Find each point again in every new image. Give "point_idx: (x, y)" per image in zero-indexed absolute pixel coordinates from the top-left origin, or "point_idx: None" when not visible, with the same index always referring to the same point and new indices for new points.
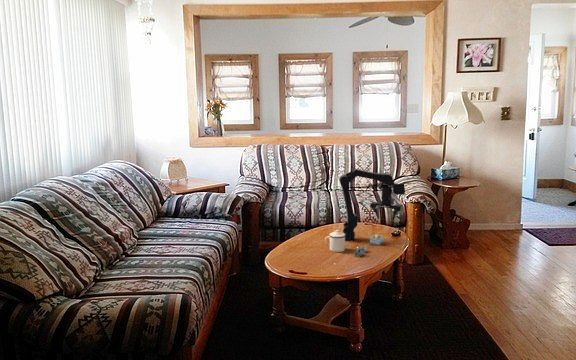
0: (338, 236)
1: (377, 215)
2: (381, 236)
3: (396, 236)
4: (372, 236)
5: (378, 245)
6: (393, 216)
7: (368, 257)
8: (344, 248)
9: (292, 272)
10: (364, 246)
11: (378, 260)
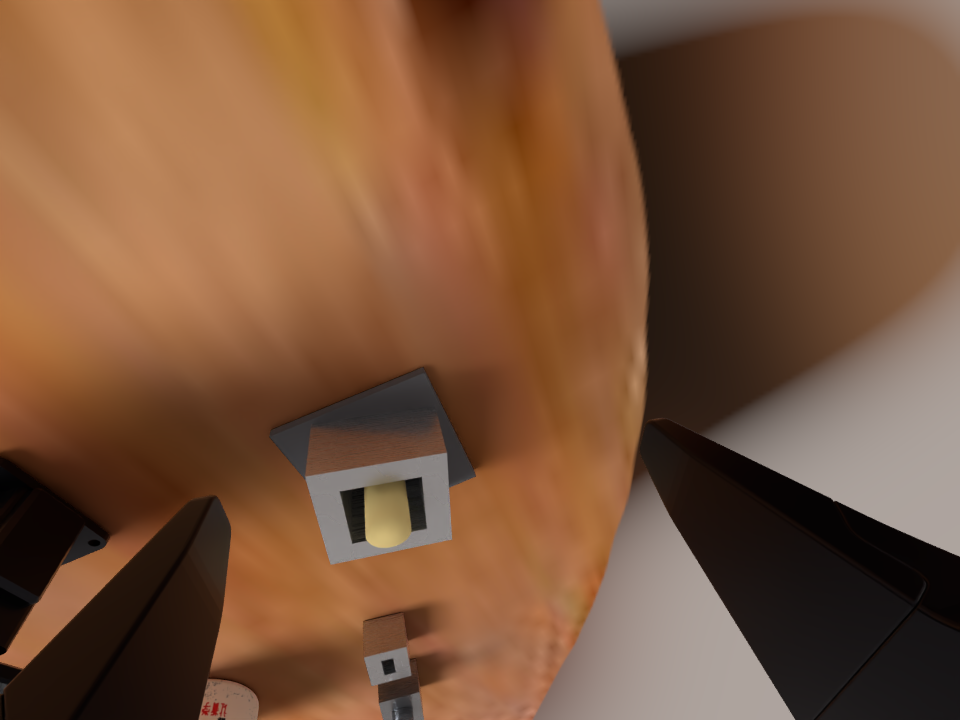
0: None
1: (182, 715)
2: (427, 468)
3: (490, 3)
4: (328, 524)
5: None
6: (745, 609)
7: (468, 663)
8: (254, 713)
9: None
10: (385, 653)
11: (537, 656)
